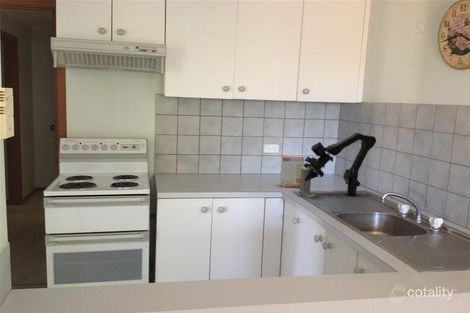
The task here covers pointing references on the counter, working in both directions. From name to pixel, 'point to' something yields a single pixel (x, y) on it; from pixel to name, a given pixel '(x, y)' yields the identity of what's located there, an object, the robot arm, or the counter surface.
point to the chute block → (304, 184)
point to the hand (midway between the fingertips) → (303, 179)
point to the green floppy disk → (307, 194)
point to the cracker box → (291, 170)
